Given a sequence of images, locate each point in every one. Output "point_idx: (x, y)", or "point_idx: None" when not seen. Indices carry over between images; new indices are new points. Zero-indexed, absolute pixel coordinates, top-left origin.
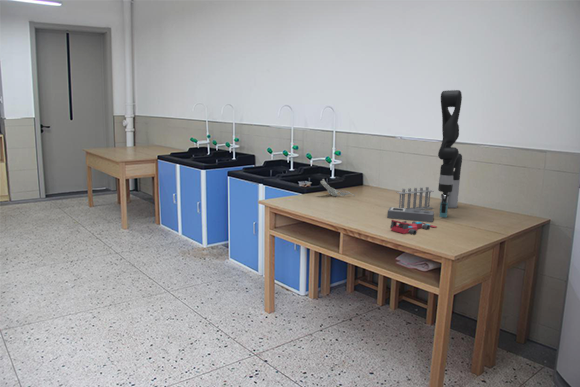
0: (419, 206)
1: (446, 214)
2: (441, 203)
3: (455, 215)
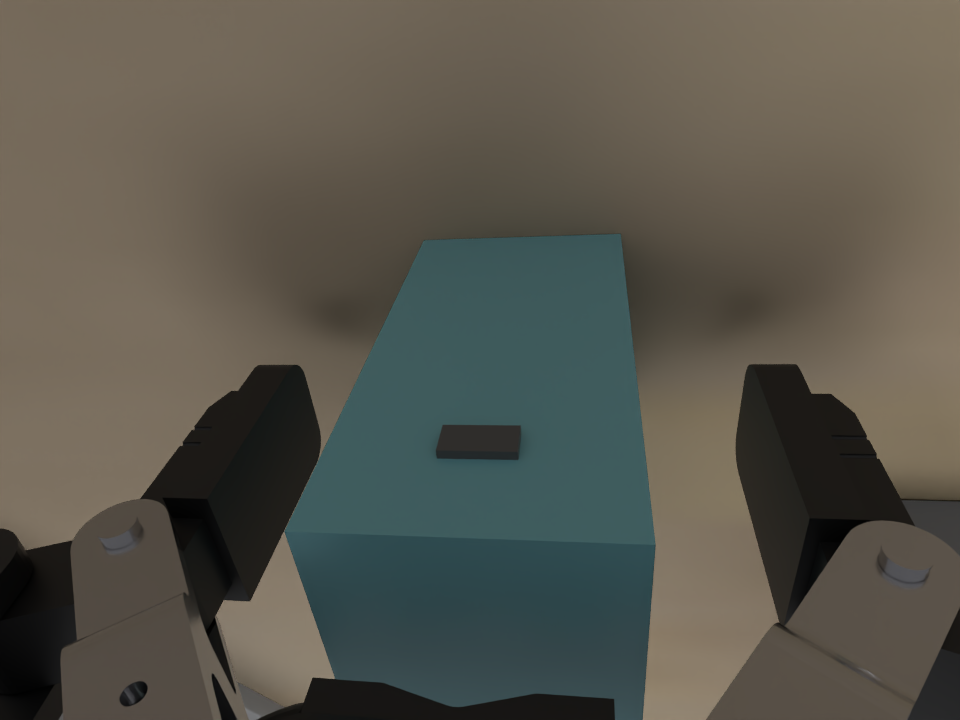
0: None
1: (625, 285)
2: (640, 707)
3: (195, 5)
